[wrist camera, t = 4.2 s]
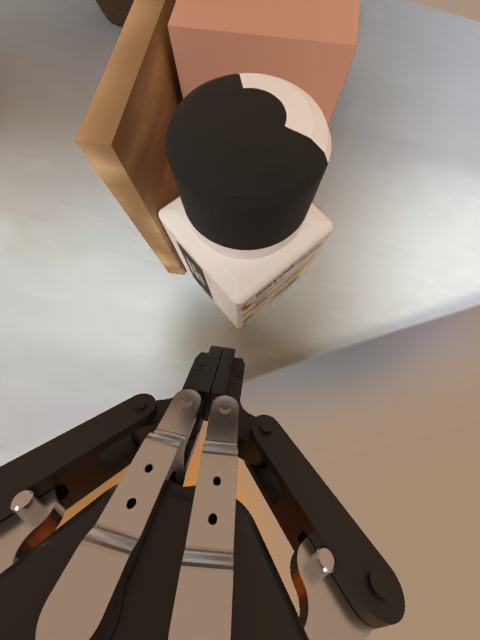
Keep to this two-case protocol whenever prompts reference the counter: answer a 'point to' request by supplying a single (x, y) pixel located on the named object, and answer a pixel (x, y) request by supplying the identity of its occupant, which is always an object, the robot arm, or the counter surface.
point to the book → (267, 43)
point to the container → (246, 188)
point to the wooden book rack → (138, 123)
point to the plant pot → (116, 10)
